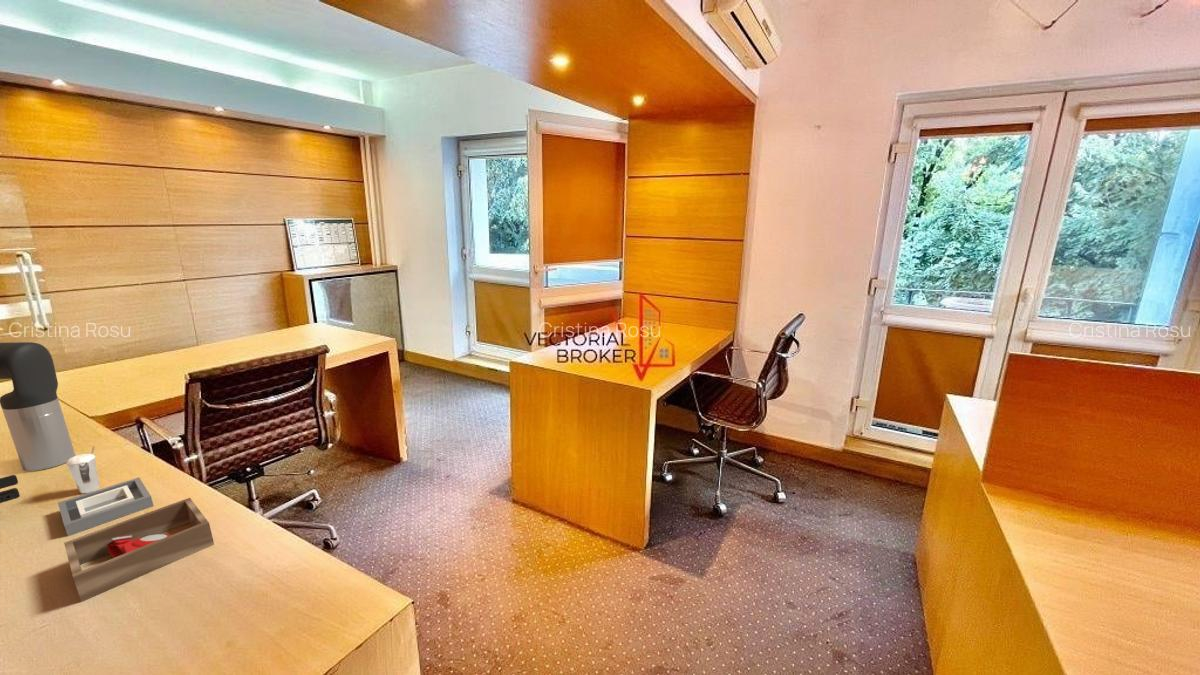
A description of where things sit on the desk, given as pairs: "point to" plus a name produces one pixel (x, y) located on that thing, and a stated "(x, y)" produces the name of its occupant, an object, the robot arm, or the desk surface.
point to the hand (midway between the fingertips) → (17, 485)
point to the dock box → (104, 505)
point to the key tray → (143, 557)
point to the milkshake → (84, 472)
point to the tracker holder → (130, 543)
